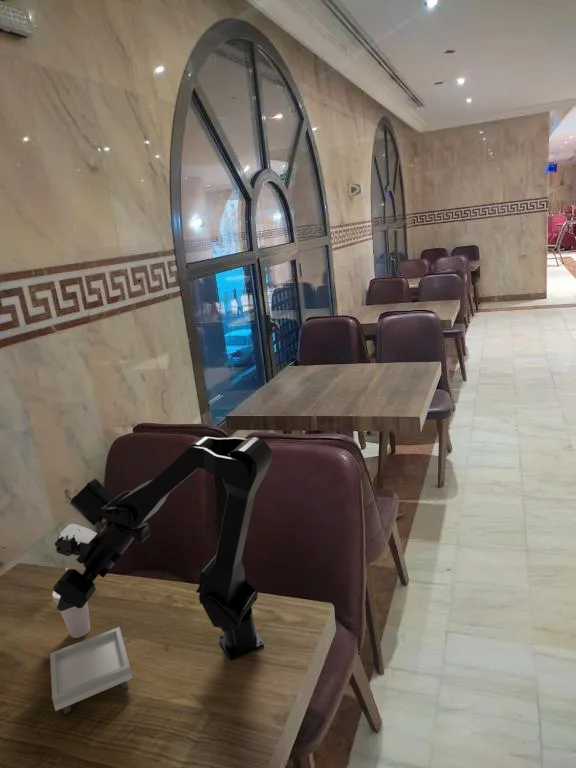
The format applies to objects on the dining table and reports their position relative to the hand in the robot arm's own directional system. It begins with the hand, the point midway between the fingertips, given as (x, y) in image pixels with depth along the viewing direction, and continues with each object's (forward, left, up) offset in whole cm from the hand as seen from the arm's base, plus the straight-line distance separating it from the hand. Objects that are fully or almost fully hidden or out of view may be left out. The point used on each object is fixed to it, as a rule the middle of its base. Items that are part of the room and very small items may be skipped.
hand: (71, 594), depth 105 cm
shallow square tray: (-16, -1, -8) cm, 18 cm away
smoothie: (0, 0, -9) cm, 9 cm away
